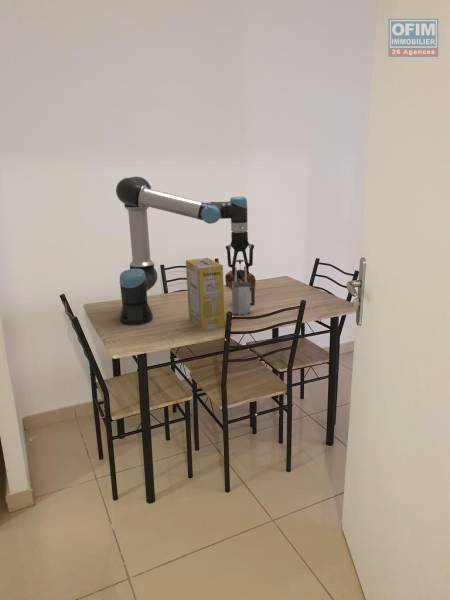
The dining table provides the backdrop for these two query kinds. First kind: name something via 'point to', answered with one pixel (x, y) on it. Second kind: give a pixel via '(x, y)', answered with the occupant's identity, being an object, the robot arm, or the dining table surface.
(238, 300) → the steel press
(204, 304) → the pasta box
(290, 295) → the dining table surface
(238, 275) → the ball knob on rod
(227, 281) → the bread
